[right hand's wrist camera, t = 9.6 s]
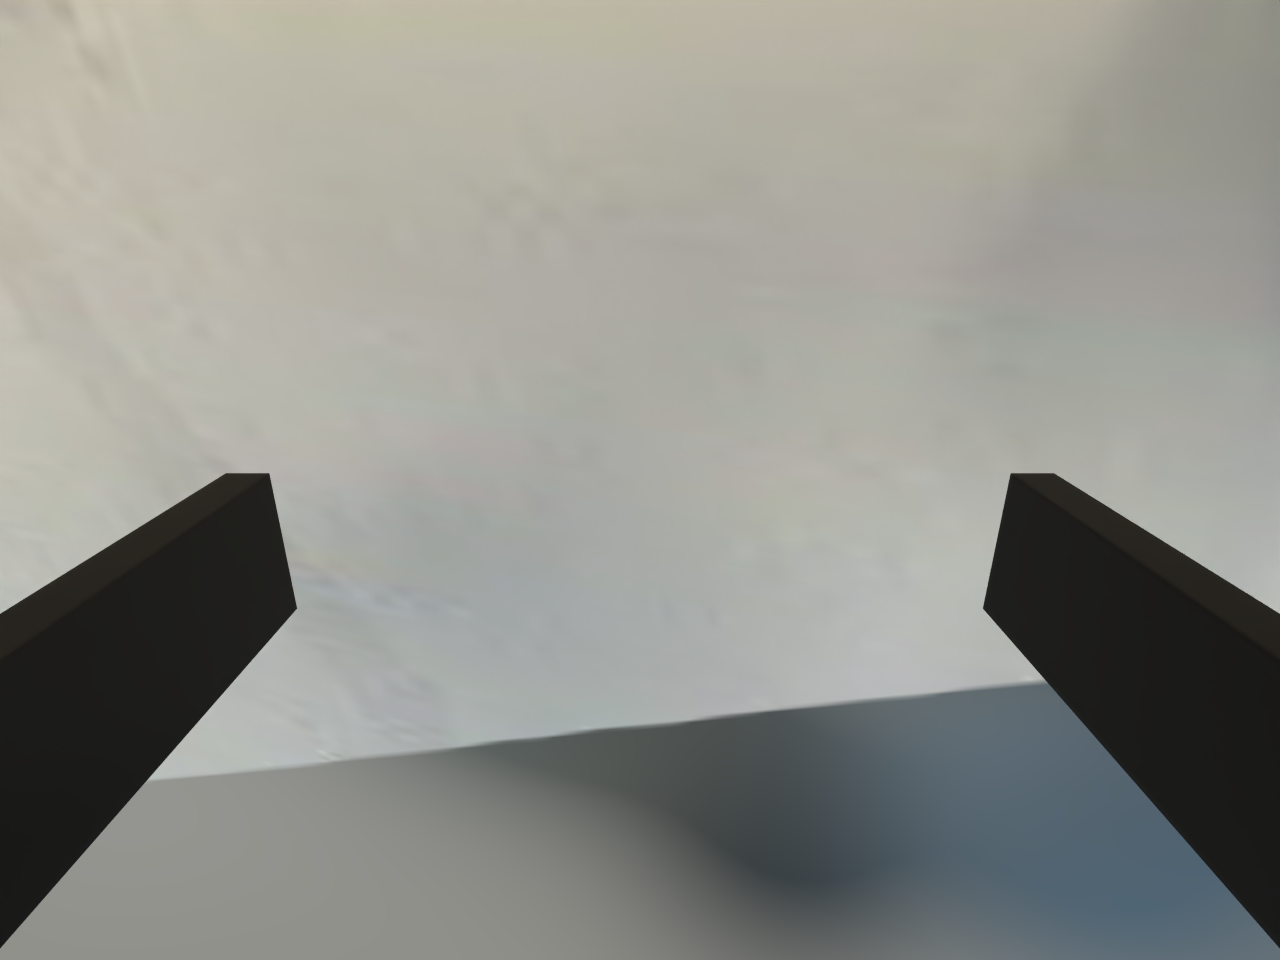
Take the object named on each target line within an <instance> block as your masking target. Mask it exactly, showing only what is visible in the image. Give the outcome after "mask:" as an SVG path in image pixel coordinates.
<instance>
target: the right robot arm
mask: <svg viewBox="0 0 1280 960" xmlns="http://www.w3.org/2000/svg"><path fill="white" fill-rule="evenodd" d="M296 609H297V606H296V601H295V596H294V591H293V587H292V582H291V577H290V572H289V567H288V562H287V557H286V553H285V548H284V543H283V538H282V533H281V528H280V523H279V518H278V514H277V509H276V504H275V499H274V494H273V489H272V484H271V480H270V475H269V473H226V474H224V475H223V476H221V477H219V478H218V479H216V480H215V481H213V482H211V483H210V484H208V485H207V486H205V487H203V488H202V489H200V490H199V491H197V492H195V493H194V494H192V495H191V496H189V497H187V498H186V499H184V500H182V501H181V502H179V503H178V504H176V505H174V506H173V507H171V508H170V509H168V510H166V511H165V512H163V513H162V514H160V515H158V516H157V517H155V518H154V519H152V520H150V521H149V522H147V523H146V524H144V525H142V526H141V527H139V528H137V529H136V530H134V531H133V532H131V533H129V534H128V535H126V536H125V537H123V538H121V539H120V540H118V541H117V542H115V543H113V544H112V545H110V546H109V547H107V548H105V549H104V550H102V551H101V552H99V553H97V554H96V555H94V556H92V557H91V558H89V559H88V560H86V561H84V562H83V563H81V564H80V565H78V566H76V567H75V568H73V569H72V570H70V571H68V572H67V573H65V574H64V575H62V576H60V577H59V578H57V579H56V580H54V581H52V582H51V583H49V584H47V585H46V586H44V587H43V588H41V589H39V590H38V591H36V592H35V593H33V594H31V595H30V596H28V597H27V598H25V599H23V600H22V601H20V602H19V603H17V604H15V605H14V606H12V607H11V608H9V609H7V610H6V611H4V612H2V613H1V614H0V948H1V947H2V946H3V944H4V943H5V942H6V941H7V940H8V939H9V938H10V936H11V935H12V934H13V933H14V932H15V931H16V930H17V928H18V927H19V926H20V925H21V924H22V923H23V922H24V920H25V919H26V918H27V917H28V916H29V915H30V914H31V912H32V911H33V910H34V909H35V908H36V907H37V906H38V904H39V903H40V902H41V901H42V900H43V899H44V898H45V896H46V895H47V894H48V893H49V892H50V891H51V890H52V888H53V887H54V886H55V885H56V884H57V883H58V881H59V880H60V879H61V878H62V877H63V876H64V875H65V873H66V872H67V871H68V870H69V869H70V868H71V867H72V865H73V864H74V863H75V862H76V861H77V860H78V859H79V857H80V856H81V855H82V854H83V853H84V852H85V851H86V849H87V848H88V847H89V846H90V845H91V844H92V843H93V841H94V840H95V839H96V838H97V837H98V836H99V835H100V833H101V832H102V831H103V830H104V829H105V828H106V827H107V825H108V824H109V823H110V822H111V821H112V820H113V819H114V817H115V816H116V815H117V814H118V813H119V812H120V811H121V809H122V808H123V807H124V806H125V805H126V804H127V802H128V801H129V800H130V799H131V798H132V797H133V796H134V795H135V793H136V792H137V791H138V790H139V789H140V788H141V786H142V785H143V784H144V783H145V782H146V781H147V780H148V778H149V777H150V776H151V775H152V774H153V773H154V772H155V770H156V769H157V768H158V767H159V766H160V765H161V764H162V762H163V761H164V760H165V759H166V758H167V757H168V756H169V754H170V753H171V752H172V751H173V750H174V749H175V748H176V746H177V745H178V744H179V743H180V742H181V741H182V740H183V738H184V737H185V736H186V735H187V734H188V733H189V732H190V730H191V729H192V728H193V727H194V726H195V725H196V724H197V722H198V721H199V720H200V719H201V718H202V717H203V716H204V714H205V713H206V712H207V711H208V710H209V709H210V708H211V706H212V705H213V704H214V703H215V702H216V701H217V699H218V698H219V697H220V696H221V695H222V694H223V693H224V691H225V690H226V689H227V688H228V687H229V686H230V685H231V683H232V682H233V681H234V680H235V679H236V678H237V677H238V675H239V674H240V673H241V672H242V671H243V670H244V669H245V667H246V666H247V665H248V664H249V663H250V662H251V661H252V659H253V658H254V657H255V656H256V655H257V654H258V653H259V651H260V650H261V649H262V648H263V647H264V646H265V645H266V643H267V642H268V641H269V640H270V639H271V638H272V637H273V635H274V634H275V633H276V632H277V631H278V630H279V629H280V627H281V626H282V625H283V624H284V623H285V622H286V620H287V619H288V618H289V617H290V616H291V615H292V614H293V612H294V611H295V610H296ZM983 609H984V610H985V611H986V612H987V614H988V615H989V616H990V617H991V618H992V619H993V620H994V622H995V623H996V624H997V625H998V626H999V627H1000V629H1001V630H1002V631H1003V632H1004V633H1005V634H1006V635H1007V637H1008V638H1009V639H1010V640H1011V641H1012V642H1013V643H1014V645H1015V646H1016V647H1017V648H1018V649H1019V650H1020V651H1021V653H1022V654H1023V655H1024V656H1025V657H1026V658H1027V659H1028V661H1029V662H1030V663H1031V664H1032V665H1033V666H1034V667H1035V669H1036V670H1037V671H1038V672H1039V673H1040V674H1041V675H1042V677H1043V678H1044V679H1045V680H1046V681H1047V682H1048V683H1049V685H1050V686H1051V687H1052V688H1053V689H1054V690H1055V691H1056V693H1057V694H1058V695H1059V696H1060V697H1061V698H1062V699H1063V701H1064V702H1065V703H1066V704H1067V705H1068V706H1069V708H1070V709H1071V710H1072V711H1073V712H1074V713H1075V714H1076V716H1077V717H1078V718H1079V719H1080V720H1081V721H1082V722H1083V723H1084V725H1085V726H1086V727H1087V728H1088V729H1089V730H1090V731H1091V733H1092V734H1093V735H1094V736H1095V737H1096V738H1097V739H1098V741H1099V742H1100V743H1101V744H1102V745H1103V746H1104V748H1105V749H1106V750H1107V751H1108V752H1109V753H1110V754H1111V755H1112V757H1113V758H1114V759H1115V760H1116V761H1117V762H1118V764H1119V765H1120V766H1121V767H1122V768H1123V769H1124V770H1125V772H1126V773H1127V774H1128V775H1129V776H1130V777H1131V778H1132V780H1133V781H1134V782H1135V783H1136V784H1137V785H1138V786H1139V788H1140V789H1141V790H1142V791H1143V792H1144V793H1145V795H1146V796H1147V797H1148V798H1149V799H1150V800H1151V801H1152V802H1153V804H1154V805H1155V806H1156V807H1157V808H1158V809H1159V811H1160V812H1161V813H1162V814H1163V815H1164V816H1165V817H1166V819H1167V820H1168V821H1169V822H1170V823H1171V824H1172V825H1173V827H1174V828H1175V829H1176V830H1177V831H1178V832H1179V833H1180V835H1181V836H1182V837H1183V838H1184V839H1185V840H1186V841H1187V843H1188V844H1189V845H1190V846H1191V847H1192V848H1193V849H1194V851H1195V852H1196V853H1197V854H1198V855H1199V856H1200V857H1201V859H1202V860H1203V861H1204V862H1205V863H1206V864H1207V865H1208V867H1209V868H1210V869H1211V870H1212V871H1213V872H1214V873H1215V875H1216V876H1217V877H1218V878H1219V879H1220V880H1221V882H1222V883H1223V884H1224V885H1225V886H1226V887H1227V888H1228V890H1229V891H1230V892H1231V893H1232V894H1233V895H1234V896H1235V898H1236V899H1237V900H1238V901H1239V902H1240V903H1241V904H1242V906H1243V907H1244V908H1245V909H1246V910H1247V911H1248V912H1249V914H1250V915H1251V916H1252V917H1253V918H1254V919H1255V920H1256V921H1257V923H1258V924H1259V925H1260V926H1261V927H1262V928H1263V930H1264V931H1265V932H1266V933H1267V934H1268V935H1269V936H1270V938H1271V939H1272V940H1273V941H1274V942H1275V943H1276V944H1277V946H1278V947H1279V948H1280V614H1279V613H1277V612H1276V611H1274V610H1273V609H1271V608H1269V607H1268V606H1266V605H1265V604H1263V603H1261V602H1260V601H1258V600H1257V599H1255V598H1253V597H1252V596H1250V595H1249V594H1247V593H1245V592H1244V591H1242V590H1241V589H1239V588H1237V587H1236V586H1234V585H1233V584H1231V583H1229V582H1228V581H1226V580H1224V579H1223V578H1221V577H1220V576H1218V575H1216V574H1215V573H1213V572H1212V571H1210V570H1208V569H1207V568H1205V567H1204V566H1202V565H1200V564H1199V563H1197V562H1196V561H1194V560H1192V559H1191V558H1189V557H1188V556H1186V555H1184V554H1183V553H1181V552H1179V551H1178V550H1176V549H1175V548H1173V547H1171V546H1170V545H1168V544H1167V543H1165V542H1163V541H1162V540H1160V539H1159V538H1157V537H1155V536H1154V535H1152V534H1151V533H1149V532H1147V531H1146V530H1144V529H1143V528H1141V527H1139V526H1138V525H1136V524H1134V523H1133V522H1131V521H1130V520H1128V519H1126V518H1125V517H1123V516H1122V515H1120V514H1118V513H1117V512H1115V511H1114V510H1112V509H1110V508H1109V507H1107V506H1106V505H1104V504H1102V503H1101V502H1099V501H1098V500H1096V499H1094V498H1093V497H1091V496H1089V495H1088V494H1086V493H1085V492H1083V491H1081V490H1080V489H1078V488H1077V487H1075V486H1073V485H1072V484H1070V483H1069V482H1067V481H1065V480H1064V479H1062V478H1061V477H1059V476H1057V475H1056V474H1054V473H1011V475H1010V480H1009V484H1008V489H1007V494H1006V499H1005V504H1004V509H1003V514H1002V518H1001V523H1000V528H999V533H998V538H997V543H996V548H995V553H994V557H993V562H992V567H991V572H990V577H989V582H988V587H987V591H986V596H985V601H984V606H983Z"/></svg>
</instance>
